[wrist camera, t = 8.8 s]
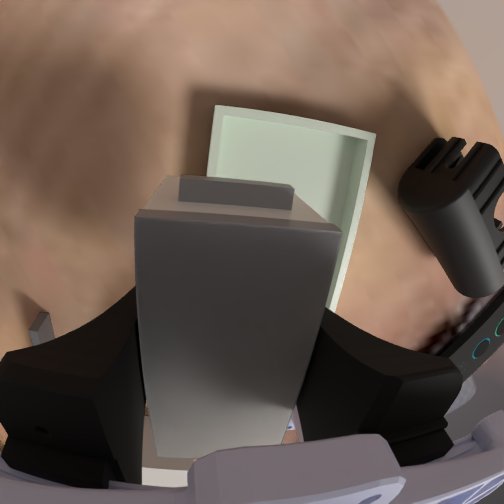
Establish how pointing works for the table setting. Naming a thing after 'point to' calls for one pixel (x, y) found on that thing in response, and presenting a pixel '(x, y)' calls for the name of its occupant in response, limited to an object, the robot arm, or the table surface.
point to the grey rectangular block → (227, 309)
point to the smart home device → (478, 340)
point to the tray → (298, 166)
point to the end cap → (459, 211)
